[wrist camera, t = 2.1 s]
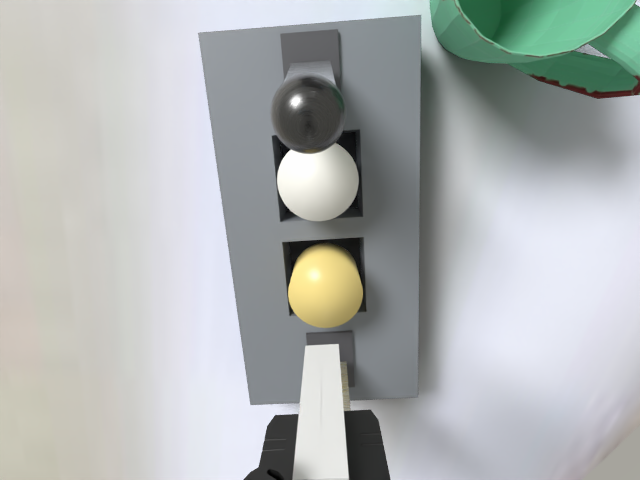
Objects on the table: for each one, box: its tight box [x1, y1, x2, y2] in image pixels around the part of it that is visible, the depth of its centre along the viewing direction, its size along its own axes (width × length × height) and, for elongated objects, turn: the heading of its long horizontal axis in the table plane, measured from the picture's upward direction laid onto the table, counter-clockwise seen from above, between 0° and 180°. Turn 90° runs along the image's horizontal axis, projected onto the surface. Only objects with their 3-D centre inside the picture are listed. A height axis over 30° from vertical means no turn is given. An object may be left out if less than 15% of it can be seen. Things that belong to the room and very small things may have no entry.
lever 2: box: [340, 361, 350, 411], centre depth 22 cm, size 3×3×11 cm
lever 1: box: [270, 61, 347, 154], centre depth 17 cm, size 3×3×11 cm
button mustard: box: [288, 242, 363, 328], centre depth 25 cm, size 5×5×4 cm
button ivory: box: [277, 143, 359, 221], centre depth 23 cm, size 5×5×4 cm
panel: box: [198, 15, 421, 405], centre depth 27 cm, size 28×14×4 cm, turn 4°
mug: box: [430, 0, 640, 99], centre depth 20 cm, size 15×10×10 cm
